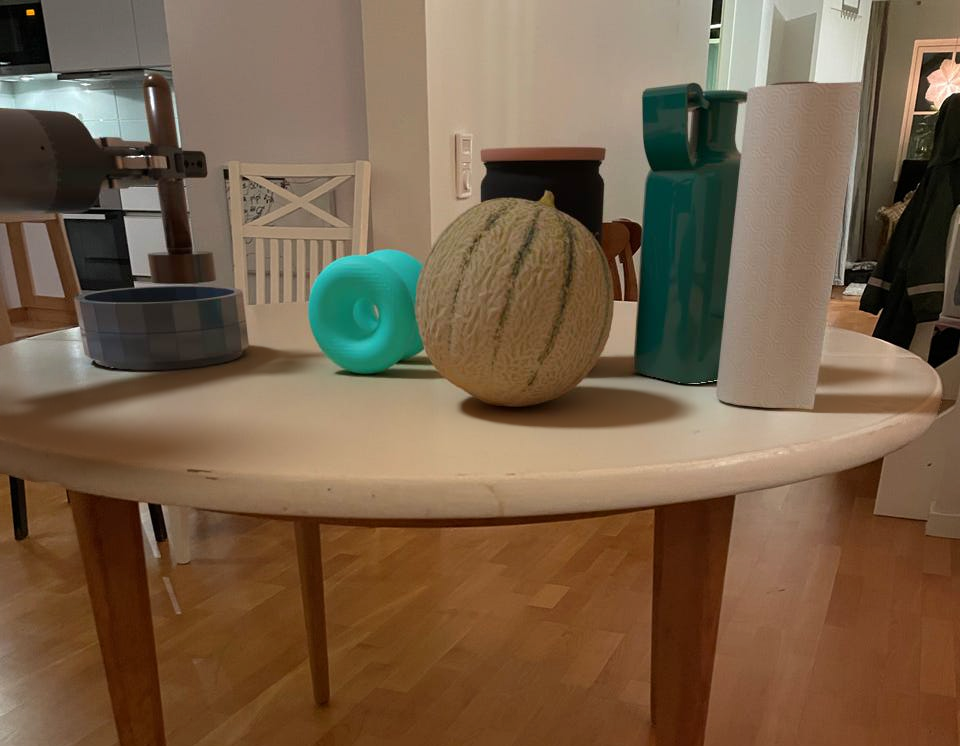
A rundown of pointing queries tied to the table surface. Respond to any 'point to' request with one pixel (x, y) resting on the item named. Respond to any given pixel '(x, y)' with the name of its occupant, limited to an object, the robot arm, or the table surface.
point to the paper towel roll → (785, 240)
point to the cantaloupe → (515, 302)
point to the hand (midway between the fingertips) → (192, 165)
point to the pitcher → (686, 230)
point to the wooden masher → (172, 198)
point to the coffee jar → (549, 179)
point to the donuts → (367, 310)
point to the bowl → (163, 326)
